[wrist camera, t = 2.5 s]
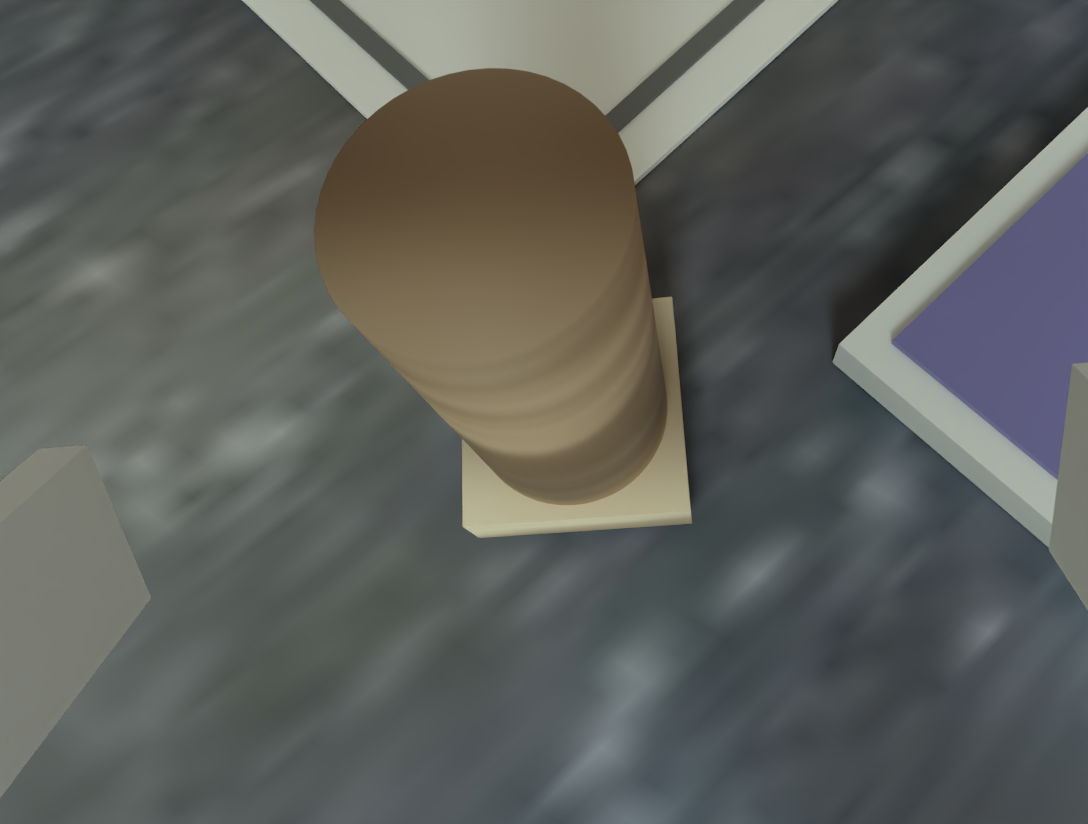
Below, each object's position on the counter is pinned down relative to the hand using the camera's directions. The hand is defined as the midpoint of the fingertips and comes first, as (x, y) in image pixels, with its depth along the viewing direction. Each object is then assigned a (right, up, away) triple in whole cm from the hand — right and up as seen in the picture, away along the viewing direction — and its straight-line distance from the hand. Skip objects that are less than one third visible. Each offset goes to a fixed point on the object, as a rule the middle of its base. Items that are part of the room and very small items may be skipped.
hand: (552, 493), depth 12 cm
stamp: (+1, +1, +10) cm, 10 cm away
